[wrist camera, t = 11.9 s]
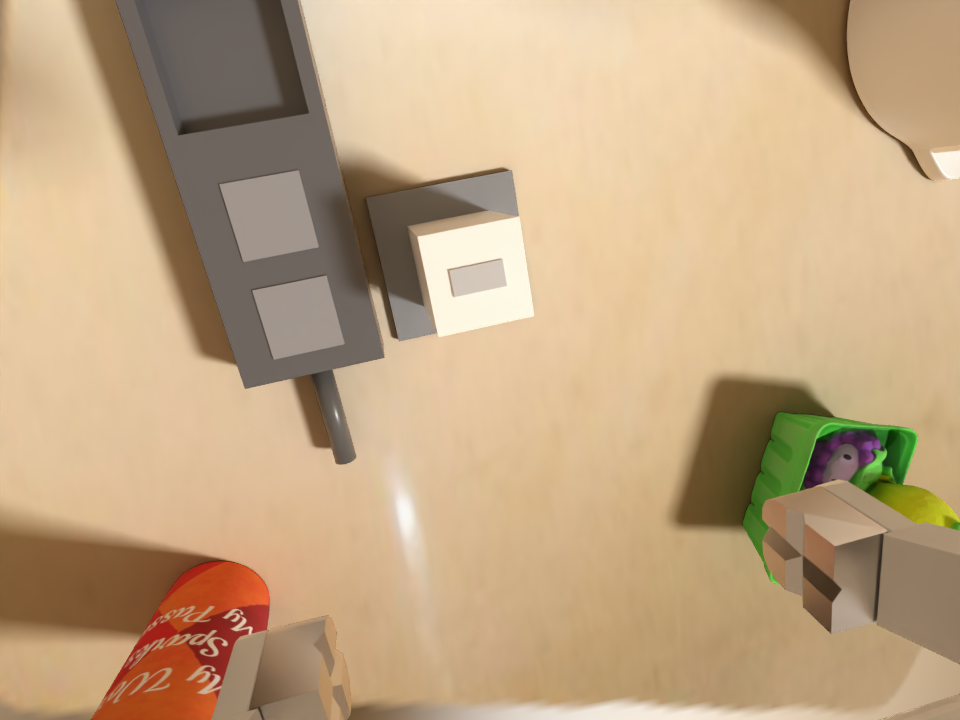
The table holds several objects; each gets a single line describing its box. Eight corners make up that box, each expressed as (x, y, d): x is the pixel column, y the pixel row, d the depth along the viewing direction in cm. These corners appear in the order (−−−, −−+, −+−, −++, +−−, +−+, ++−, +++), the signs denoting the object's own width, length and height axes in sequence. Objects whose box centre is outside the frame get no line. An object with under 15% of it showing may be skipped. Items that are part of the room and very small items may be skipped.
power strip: (284, -64, 26) (271, -104, 23) (405, 435, 35) (409, 464, 31) (122, -43, 25) (82, -81, 22) (286, 464, 34) (276, 497, 30)
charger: (487, 210, 31) (520, 216, 25) (501, 289, 33) (534, 316, 26) (407, 226, 31) (417, 237, 24) (424, 306, 32) (438, 337, 25)
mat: (510, 170, 31) (511, 170, 31) (531, 310, 34) (533, 311, 33) (365, 197, 30) (365, 197, 30) (398, 339, 33) (398, 341, 32)
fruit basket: (765, 392, 39) (915, 470, 28) (872, 403, 41) (1050, 480, 30) (720, 538, 42) (840, 659, 31) (822, 542, 43) (968, 657, 33)
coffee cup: (279, 535, 35) (219, 771, 21) (297, 643, 37) (252, 919, 23) (132, 554, 34) (-40, 820, 19) (159, 665, 36) (24, 973, 22)
